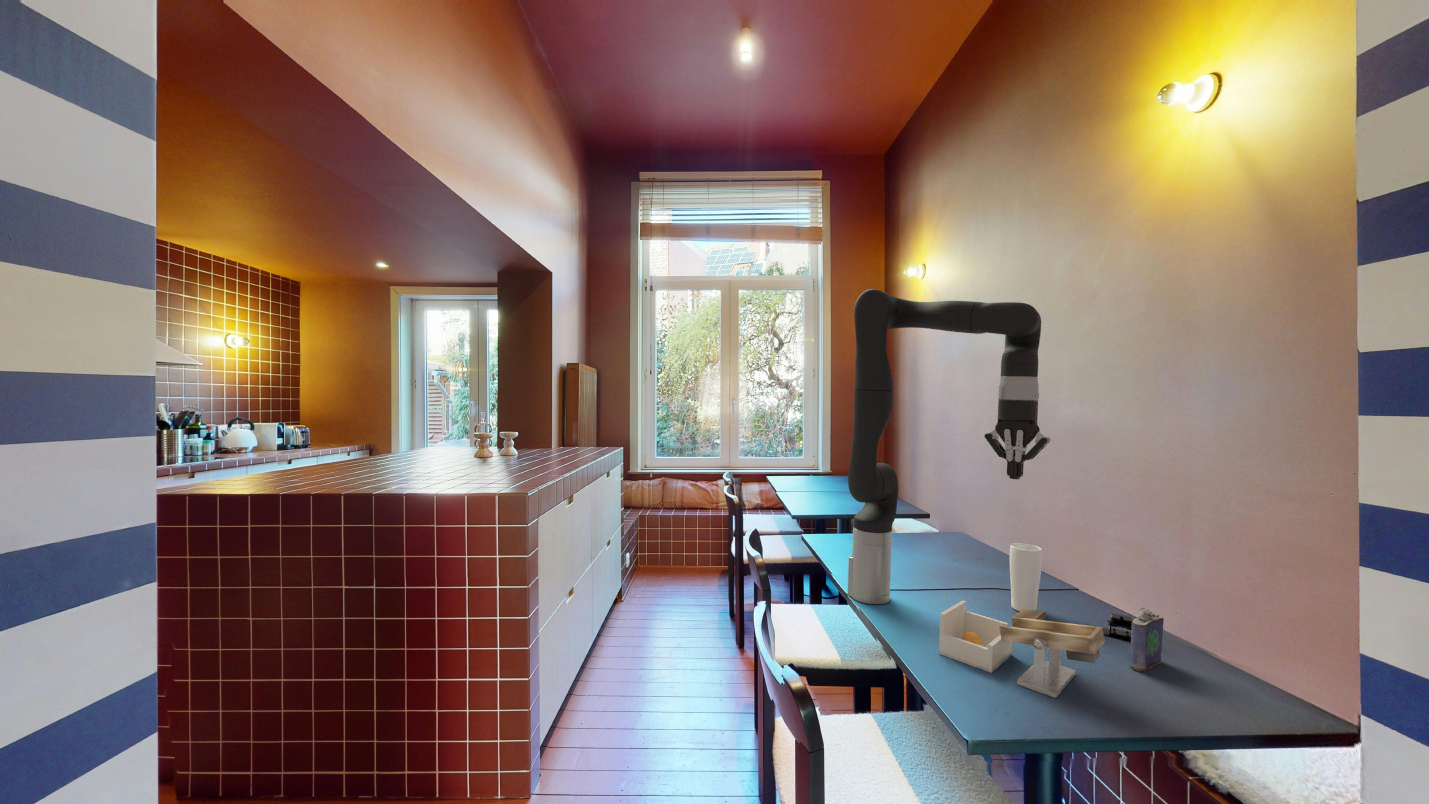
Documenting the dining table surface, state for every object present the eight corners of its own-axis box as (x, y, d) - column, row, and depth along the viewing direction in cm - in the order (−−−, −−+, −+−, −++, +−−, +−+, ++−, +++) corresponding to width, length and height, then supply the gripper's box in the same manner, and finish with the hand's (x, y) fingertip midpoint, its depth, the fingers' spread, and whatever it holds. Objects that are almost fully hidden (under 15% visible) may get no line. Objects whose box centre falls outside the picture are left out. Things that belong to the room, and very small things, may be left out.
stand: (1017, 684, 99) (1019, 635, 99) (1039, 662, 108) (1040, 617, 107) (1055, 698, 95) (1057, 647, 95) (1075, 674, 103) (1077, 627, 103)
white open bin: (938, 653, 110) (940, 613, 110) (961, 638, 117) (962, 600, 117) (991, 673, 103) (993, 629, 103) (1011, 654, 110) (1013, 614, 110)
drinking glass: (1044, 616, 130) (1047, 552, 130) (1012, 613, 132) (1015, 549, 131) (1034, 605, 137) (1036, 544, 137) (1003, 602, 138) (1006, 542, 138)
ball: (960, 631, 111) (978, 639, 108) (968, 626, 113) (985, 634, 111) (957, 647, 111) (975, 656, 109) (964, 642, 113) (982, 651, 111)
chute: (1003, 651, 103) (999, 626, 104) (1026, 632, 112) (1022, 608, 113) (1097, 666, 93) (1092, 638, 93) (1114, 643, 102) (1110, 618, 102)
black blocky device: (1086, 636, 121) (1087, 615, 121) (1086, 624, 128) (1086, 604, 127) (1159, 652, 115) (1160, 630, 115) (1155, 639, 121) (1156, 618, 121)
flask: (1141, 673, 104) (1144, 616, 104) (1123, 666, 107) (1126, 610, 107) (1164, 662, 109) (1166, 607, 109) (1146, 656, 112) (1149, 602, 111)
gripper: (979, 397, 123) (976, 476, 123) (1047, 399, 113) (1043, 485, 114) (992, 397, 128) (989, 473, 128) (1058, 399, 118) (1054, 481, 119)
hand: (1014, 478), depth 121 cm, fingers closed
